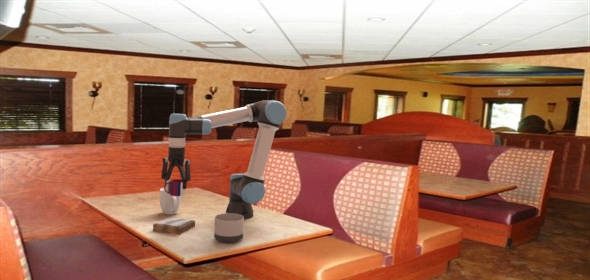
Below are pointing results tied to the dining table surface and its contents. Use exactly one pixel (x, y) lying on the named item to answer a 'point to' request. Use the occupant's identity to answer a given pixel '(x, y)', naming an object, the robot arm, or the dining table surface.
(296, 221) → the dining table surface
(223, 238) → the planter
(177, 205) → the mug
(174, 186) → the cup
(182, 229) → the stand
